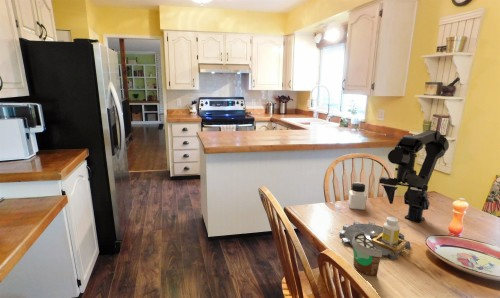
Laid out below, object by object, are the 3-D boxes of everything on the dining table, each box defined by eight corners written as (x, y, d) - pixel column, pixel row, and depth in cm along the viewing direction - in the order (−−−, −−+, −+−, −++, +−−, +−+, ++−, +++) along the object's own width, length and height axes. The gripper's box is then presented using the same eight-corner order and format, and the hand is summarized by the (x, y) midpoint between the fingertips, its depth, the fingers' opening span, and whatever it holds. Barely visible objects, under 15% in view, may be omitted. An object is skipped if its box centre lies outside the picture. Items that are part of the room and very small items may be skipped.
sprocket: (359, 219, 128) (360, 212, 127) (420, 242, 109) (422, 234, 109) (326, 238, 112) (327, 230, 111) (391, 269, 93) (392, 259, 93)
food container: (343, 257, 100) (346, 231, 98) (360, 256, 100) (363, 230, 98) (360, 280, 88) (363, 251, 86) (379, 279, 88) (382, 250, 86)
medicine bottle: (365, 209, 138) (367, 186, 136) (350, 208, 140) (352, 185, 137) (362, 204, 145) (365, 181, 142) (348, 202, 146) (350, 180, 144)
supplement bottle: (396, 241, 108) (399, 217, 106) (398, 248, 103) (402, 223, 101) (380, 238, 109) (383, 214, 107) (382, 245, 104) (385, 220, 102)
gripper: (401, 164, 104) (396, 206, 104) (442, 171, 109) (436, 212, 108) (381, 162, 115) (375, 201, 115) (418, 169, 120) (413, 206, 119)
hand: (400, 205), depth 114 cm, fingers open, 9 cm apart
